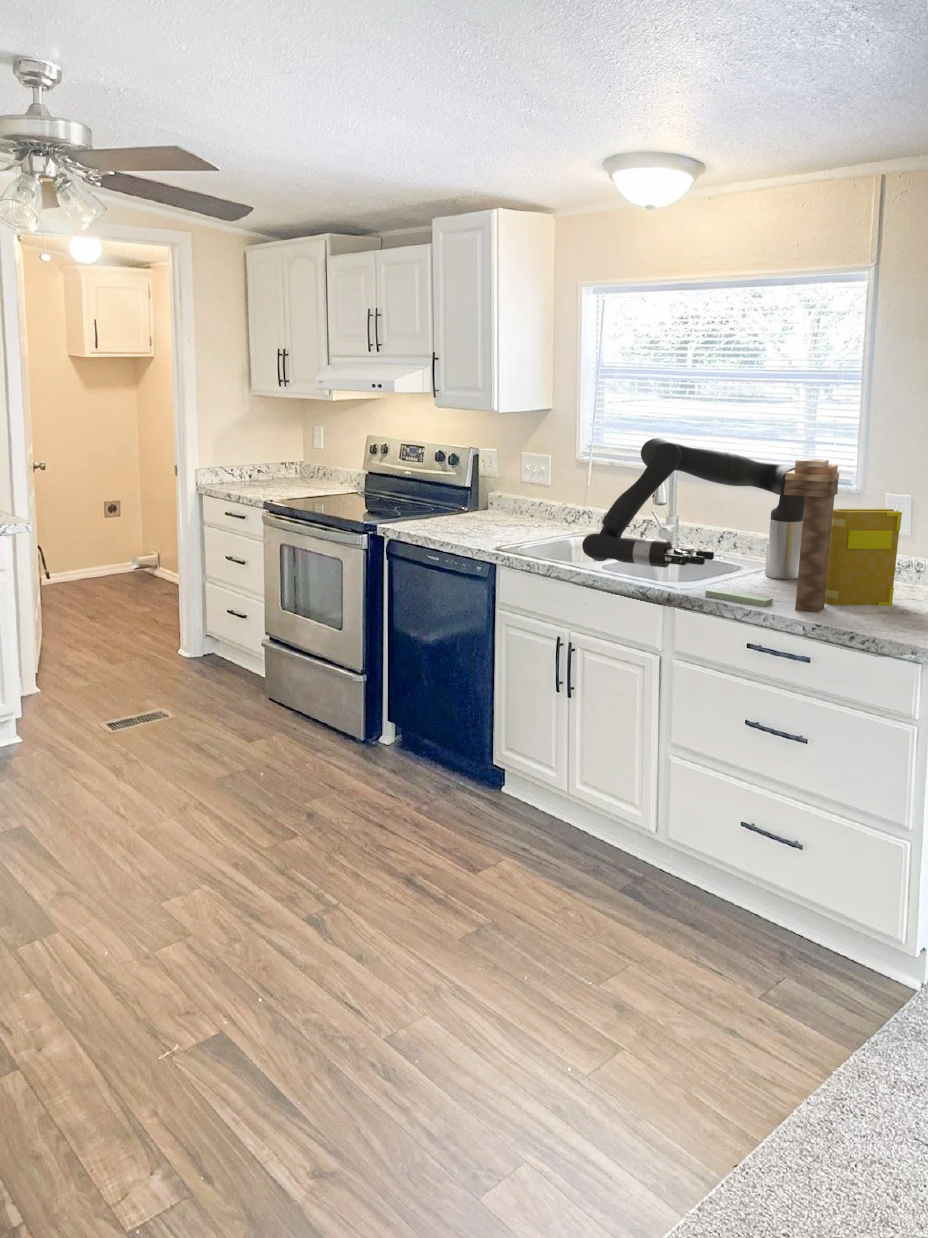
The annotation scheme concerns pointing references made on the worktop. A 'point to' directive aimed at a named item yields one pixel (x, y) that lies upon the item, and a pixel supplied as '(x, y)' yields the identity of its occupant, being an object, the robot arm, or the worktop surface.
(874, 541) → the book
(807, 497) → the tall brown wooden column
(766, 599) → the block
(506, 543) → the worktop surface
